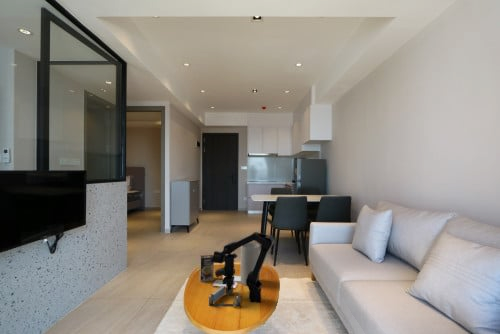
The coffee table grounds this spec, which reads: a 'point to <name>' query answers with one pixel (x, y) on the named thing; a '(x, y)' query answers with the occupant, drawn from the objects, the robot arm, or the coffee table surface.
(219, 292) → the grey block
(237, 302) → the dark grey long piece
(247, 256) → the cylinder vase
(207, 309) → the coffee table surface
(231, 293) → the walnut block
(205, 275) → the coffee box
